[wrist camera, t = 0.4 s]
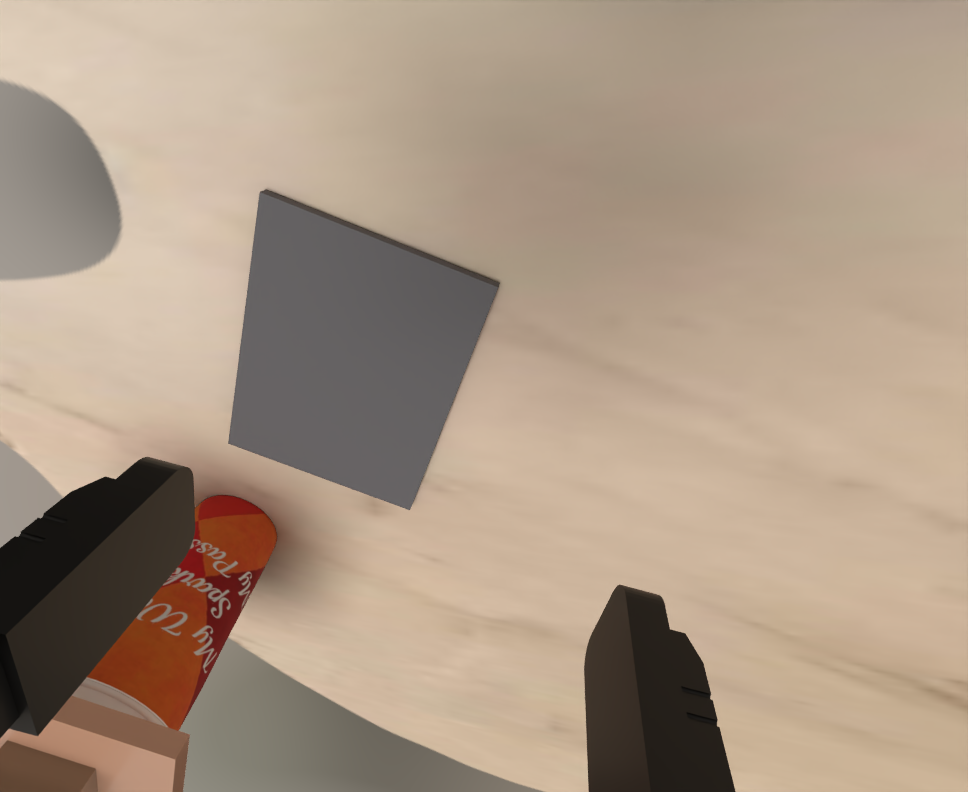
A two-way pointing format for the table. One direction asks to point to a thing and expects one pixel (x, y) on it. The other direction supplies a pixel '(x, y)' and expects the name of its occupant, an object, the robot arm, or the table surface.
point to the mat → (350, 350)
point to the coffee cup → (186, 617)
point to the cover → (94, 754)
